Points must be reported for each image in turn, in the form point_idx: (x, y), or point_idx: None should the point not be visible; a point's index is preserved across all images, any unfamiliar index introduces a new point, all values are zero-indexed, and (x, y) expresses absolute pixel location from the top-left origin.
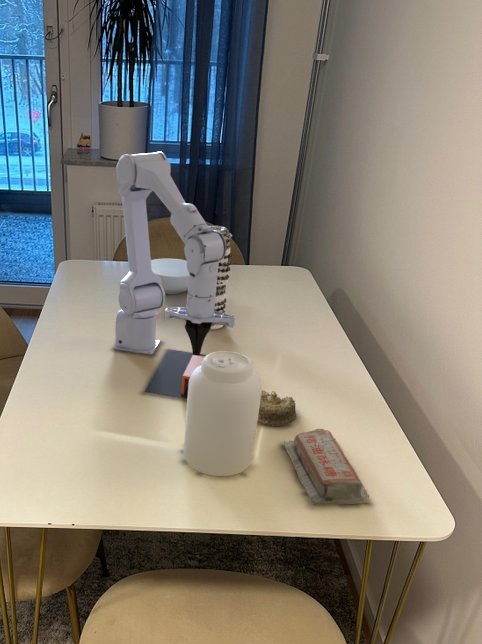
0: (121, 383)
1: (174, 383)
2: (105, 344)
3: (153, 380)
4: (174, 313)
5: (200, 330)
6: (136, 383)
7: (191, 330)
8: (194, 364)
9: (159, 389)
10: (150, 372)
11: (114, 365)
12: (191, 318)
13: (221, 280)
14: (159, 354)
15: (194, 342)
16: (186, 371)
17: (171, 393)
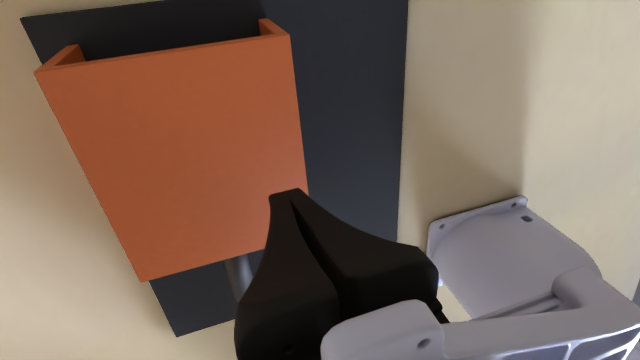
0: (491, 13)
1: (322, 94)
2: (543, 207)
3: (396, 78)
4: (581, 326)
5: (304, 288)
6: (444, 38)
7: (373, 260)
8: (278, 171)
9: (360, 20)
10: (414, 134)
11: (518, 118)
12: (442, 345)
13: None
14: (410, 238)
15: (315, 223)
16: (288, 91)
17: (308, 9)
